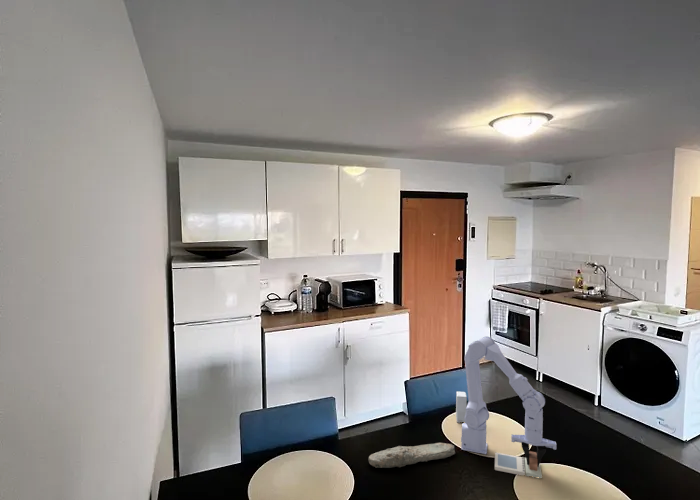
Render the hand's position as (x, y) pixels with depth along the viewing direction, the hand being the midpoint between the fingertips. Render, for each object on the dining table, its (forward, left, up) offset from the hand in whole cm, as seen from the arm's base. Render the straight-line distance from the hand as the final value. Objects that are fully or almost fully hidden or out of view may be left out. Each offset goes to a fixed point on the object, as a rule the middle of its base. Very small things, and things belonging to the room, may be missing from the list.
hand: (532, 464), depth 142 cm
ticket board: (-8, 0, -2) cm, 8 cm away
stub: (0, 0, -2) cm, 2 cm away
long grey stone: (-42, -8, -3) cm, 43 cm away
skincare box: (-28, +30, -2) cm, 41 cm away
